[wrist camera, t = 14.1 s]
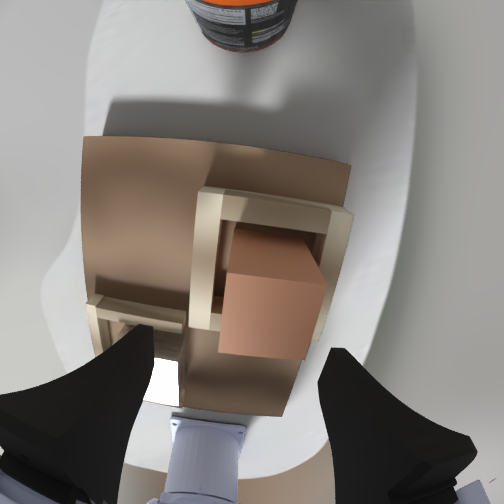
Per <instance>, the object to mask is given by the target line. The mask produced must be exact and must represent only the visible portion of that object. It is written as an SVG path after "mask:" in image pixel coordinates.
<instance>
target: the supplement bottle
mask: <svg viewBox="0 0 504 504" xmlns="http://www.w3.org/2000/svg"><path fill="white" fill-rule="evenodd" d="M185 1H186V3H187V5H188V7H189V9H190V11H191V13H192V15H193V17H194V19H195V21H196V23H197V25H198V27H199V28H200V30H201V31H202V33H203V34H204V36H205V37H206V38H207V39H208V40H209V41H210V42H211V43H213V44H214V45H216V46H218V47H220V48H223V49H225V50H229V51H234V52H250V51H257V50H260V49H263V48H266V47H268V46H270V45H272V44H274V43H275V42H276V41H278V40H279V39H280V38H281V37H282V36H283V34H284V33H285V31H286V30H287V28H288V26H289V23H290V20H291V18H292V14H293V11H294V8H295V5H296V2H297V0H185Z"/></svg>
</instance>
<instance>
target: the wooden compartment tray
mask: <svg viewBox="0 0 504 504" xmlns="http://www.w3.org/2000/svg"><path fill="white" fill-rule="evenodd" d="M350 168H351V165H349V164H345V163H341V162H336V161H331V160H327V159H322V158H317V157H312V156H306V155H301V154H295V153H290V152H284V151H278V150H272V149H265V148H258V147H251V146H244V145H236V144H228V143H219V142H209V141H199V140H187V139H174V138H157V137H132V136H84V138H83V151H82V168H81V232H82V250H83V262H84V273H85V282H86V291H87V298H88V301H87V303H86V311H87V317H88V323H89V328H90V334H91V339H92V344H93V348H94V353H95V357H97V356H98V355H100V354H101V353H103V352H104V351H105V350H107V349H108V348H109V347H110V346H112V344H113V343H114V341H115V339H116V338H117V336H118V334H119V333H120V331H121V329H122V328H123V326H124V324H130V325H135V326H137V325H138V324H143V325H148V326H153V329H156V330H161V331H167V332H173V333H179V334H182V333H183V334H186V338H185V380H184V384H183V388H182V392H181V397H180V401H179V405H178V406H175V405H170V404H164V403H159V402H155V401H150V400H145V399H144V400H143V401H147V402H151V403H156V404H161V405H166V406H171V407H177V408H182V407H188V408H194V409H201V410H208V411H216V412H224V413H234V414H244V415H258V416H276V417H282V415H283V413H284V410H285V407H286V404H287V402H288V399H289V396H290V393H291V390H292V388H293V385H294V382H295V379H296V376H297V373H298V370H299V367H300V364H301V361H302V360H292V359H278V358H266V357H255V356H245V355H236V354H227V353H219V352H218V348H219V338H220V331H212V330H205V329H198V328H191V327H188V326H189V303H190V284H191V268H192V253H193V240H194V228H195V217H196V207H197V197H198V191H199V190H200V189H201V188H202V187H204V186H209V187H217V188H225V189H233V190H241V191H248V192H255V193H262V194H269V195H276V196H283V197H289V198H295V199H301V200H307V201H313V202H319V203H325V204H330V205H336V206H341V207H343V204H344V199H345V194H346V189H347V184H348V179H349V174H350ZM234 228H235V229H242V230H250V231H257V232H264V233H272V234H279V235H286V236H293V237H300V238H303V239H304V241H305V243H306V245H307V247H308V249H309V250H310V252H311V254H312V252H313V247H314V243H315V238H316V234H317V233H315V232H309V231H302V230H295V229H288V228H281V227H274V226H267V225H260V224H253V223H245V222H238V221H230V220H222V228H221V237H220V246H219V255H218V264H217V273H216V283H215V293H214V296H219V297H224V293H225V285H226V276H227V269H228V263H229V257H230V251H231V246H232V240H233V234H234Z"/></svg>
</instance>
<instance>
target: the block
mask: <svg viewBox="0 0 504 504" xmlns="http://www.w3.org/2000/svg"><path fill="white" fill-rule="evenodd" d="M134 327H135V325H130V324H124V326H123V328H122V329H121V331H120V333H119V334H118V336H117V338H116V339H115V341H114V343H116V342H117V341H118V340H119V339H121V338H122V337H123V336H124V335H126V334H127V333H128V332H129V331H130V330H132V329H133V328H134ZM153 333H154V353H155V366H154V370H153V374H152V378H151V381H150V385H149V387H148V390H147V392H146V395H145V397H144V399H145V400H150V401H155V402H159V403H164V404H170V405H175V406H178V405H179V401H180V397H181V392H182V388H183V384H184V380H185V338H186V334H183V333H182V334H179V333H173V332H167V331H161V330H156V329H153ZM114 343H113V344H114ZM113 344H112V345H113Z"/></svg>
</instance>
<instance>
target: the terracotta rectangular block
mask: <svg viewBox="0 0 504 504" xmlns="http://www.w3.org/2000/svg"><path fill="white" fill-rule="evenodd" d="M326 289H327V283H326V281H325V279H324V277H323V275H322V273H321V271H320V269H319V267H318V265H317V264H316V262H315V260H314V258H313V256H312V254H311V252H310V250H309V249H308V247H307V245H306V243H305V241H304V239H303V238H300V237H293V236H286V235H279V234H272V233H264V232H257V231H250V230H242V229H235V228H234V234H233V240H232V246H231V251H230V257H229V263H228V269H227V276H226V285H225V293H224V302H223V311H222V320H221V329H220V338H219V348H218V352H219V353H227V354H236V355H245V356H255V357H266V358H278V359H292V360H305V358H306V355H307V352H308V349H309V346H310V342H311V339H312V336H313V333H314V330H315V326H316V323H317V320H318V316H319V313H320V310H321V306H322V303H323V299H324V296H325V292H326Z"/></svg>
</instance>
